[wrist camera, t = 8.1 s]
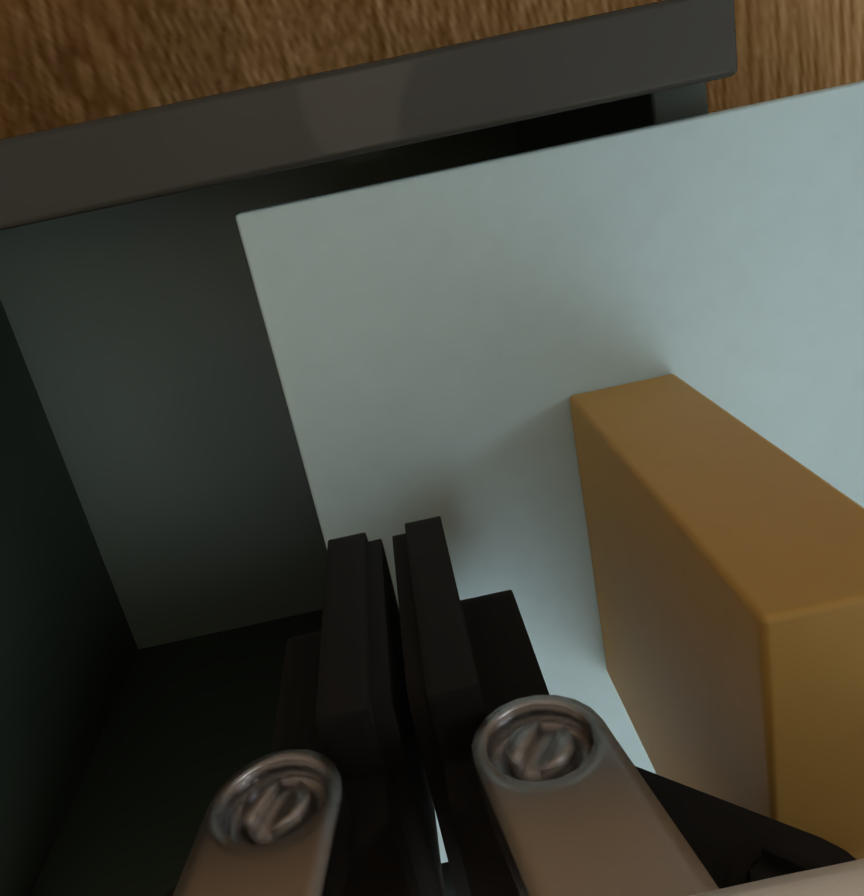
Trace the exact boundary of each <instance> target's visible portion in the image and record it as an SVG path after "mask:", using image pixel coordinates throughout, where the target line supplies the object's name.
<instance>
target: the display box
mask: <svg viewBox="0 0 864 896" xmlns="http://www.w3.org/2000/svg"><path fill="white" fill-rule="evenodd" d="M736 71H737V51H736V31H735V12H734V0H665V1H660V2H655V3H650V4H646V5H641V6H636V7H631V8H626V9H622V10H617V11H612V12H607V13H603V14H598V15H593V16H588V17H583V18H579V19H574V20H569V21H564V22H560V23H555V24H550V25H545V26H540V27H536V28H531V29H526V30H521V31H517V32H512V33H507V34H502V35H498V36H493V37H488V38H483V39H478V40H474V41H469V42H464V43H459V44H455V45H450V46H445V47H440V48H435V49H431V50H426V51H421V52H416V53H412V54H407V55H402V56H397V57H392V58H388V59H383V60H378V61H373V62H369V63H364V64H359V65H354V66H349V67H345V68H340V69H335V70H330V71H326V72H321V73H316V74H311V75H306V76H302V77H297V78H292V79H287V80H283V81H278V82H273V83H268V84H263V85H259V86H254V87H249V88H244V89H240V90H235V91H230V92H225V93H221V94H216V95H211V96H206V97H201V98H197V99H192V100H187V101H182V102H178V103H173V104H168V105H163V106H158V107H154V108H149V109H144V110H139V111H135V112H130V113H125V114H120V115H115V116H111V117H106V118H101V119H96V120H92V121H87V122H82V123H77V124H72V125H68V126H63V127H58V128H53V129H49V130H44V131H39V132H34V133H29V134H25V135H20V136H15V137H10V138H6V139H1V140H0V896H165V895H166V894H167V893H168V892H169V891H170V890H171V889H172V888H173V887H175V886H176V885H177V884H178V881H179V879H180V876H181V874H182V871H183V869H184V866H185V864H186V861H187V859H188V856H189V854H190V851H191V849H192V846H193V844H194V841H195V839H196V836H197V834H198V831H199V829H200V826H201V824H202V821H203V819H204V816H205V814H206V811H207V809H208V806H209V804H210V803H211V801H212V799H213V798H214V796H215V794H216V792H217V791H218V789H219V788H220V787H221V786H222V785H223V784H224V783H225V782H226V781H227V780H228V779H229V778H230V777H231V776H232V775H233V774H234V773H235V772H237V771H238V770H240V769H241V768H243V767H244V766H245V765H247V764H248V763H250V762H252V761H254V760H256V759H259V758H261V757H263V756H265V755H268V754H270V753H271V750H272V743H273V736H274V729H275V722H276V715H277V708H278V700H279V693H280V686H281V679H282V672H283V665H284V658H285V651H286V645H287V641H288V639H289V638H291V637H296V636H300V635H305V634H309V633H314V632H318V631H322V617H323V603H324V589H325V575H326V561H327V548H326V544H325V540H324V537H323V533H322V530H321V526H320V522H319V519H318V515H317V511H316V508H315V504H314V501H313V497H312V493H311V490H310V486H309V482H308V479H307V475H306V472H305V468H304V464H303V461H302V457H301V454H300V450H299V446H298V443H297V439H296V435H295V432H294V428H293V425H292V421H291V417H290V414H289V410H288V406H287V403H286V399H285V396H284V392H283V388H282V385H281V381H280V377H279V374H278V370H277V367H276V363H275V359H274V356H273V352H272V348H271V345H270V341H269V338H268V334H267V330H266V327H265V323H264V319H263V316H262V312H261V309H260V305H259V301H258V298H257V294H256V291H255V287H254V283H253V280H252V276H251V272H250V269H249V265H248V262H247V258H246V254H245V251H244V247H243V243H242V240H241V236H240V233H239V229H238V225H237V222H236V215H237V214H239V213H240V212H244V211H249V210H253V209H258V208H263V207H268V206H272V205H277V204H282V203H286V202H291V201H296V200H301V199H305V198H310V197H315V196H320V195H324V194H329V193H334V192H338V191H343V190H348V189H353V188H357V187H362V186H367V185H372V184H376V183H381V182H386V181H391V180H395V179H400V178H405V177H409V176H414V175H419V174H424V173H428V172H433V171H438V170H443V169H447V168H452V167H457V166H461V165H466V164H471V163H476V162H480V161H485V160H490V159H495V158H499V157H504V156H509V155H513V154H518V153H523V152H528V151H532V150H537V149H542V148H547V147H551V146H556V145H561V144H565V143H570V142H575V141H580V140H584V139H589V138H594V137H599V136H603V135H608V134H613V133H618V132H622V131H627V130H632V129H636V128H641V127H646V126H651V125H655V124H660V123H665V122H670V121H674V120H679V119H684V118H688V117H693V116H698V115H703V114H707V113H708V105H707V90H706V82H707V81H712V80H717V79H722V78H726V77H731V76H732V75H734V74H735V73H736ZM441 867H442V875H443V883H444V892H445V896H457V895H456V891H455V887H454V883H453V879H452V875H451V871H450V867H449V863H448V862H445V863H441Z"/></svg>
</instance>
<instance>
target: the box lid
mask: <svg viewBox="0 0 864 896" xmlns="http://www.w3.org/2000/svg"><path fill="white" fill-rule="evenodd" d="M236 222H237V225H238V229H239V233H240V236H241V240H242V243H243V247H244V251H245V254H246V258H247V262H248V265H249V269H250V272H251V276H252V280H253V283H254V287H255V291H256V294H257V298H258V301H259V305H260V309H261V312H262V316H263V319H264V323H265V327H266V330H267V334H268V338H269V341H270V345H271V348H272V352H273V356H274V359H275V363H276V367H277V370H278V374H279V377H280V381H281V385H282V388H283V392H284V396H285V399H286V403H287V406H288V410H289V414H290V417H291V421H292V425H293V428H294V432H295V435H296V439H297V443H298V446H299V450H300V454H301V457H302V461H303V464H304V468H305V472H306V475H307V479H308V482H309V486H310V490H311V493H312V497H313V501H314V504H315V508H316V511H317V515H318V519H319V522H320V526H321V530H322V533H323V537H324V540H325V544H326V548H327V547H328V540H331V539H336V538H341V537H345V536H350V535H354V534H359V533H364V532H365V533H366V535H367V538H368V541H373V540H377V539H381V540H382V542H383V546H384V550H385V554H386V558H387V562H388V566H389V570H390V574H391V578H392V582H393V586H394V591H395V595H396V599H397V603H398V593H397V582H396V572H395V561H394V551H393V540H392V536H396V535H400V534H405V533H406V532H405V523H410V522H414V521H419V520H423V519H428V518H433V517H437V516H440V517H441V521H442V525H443V530H444V534H445V538H446V542H447V547H448V551H449V555H450V560H451V564H452V568H453V573H454V577H455V581H456V585H457V590H458V594H459V598H460V600H465V599H469V598H474V597H478V596H483V595H488V594H492V593H497V592H501V591H506V590H510V589H511V590H512V592H513V594H514V597H515V599H516V602H517V605H518V608H519V611H520V613H521V616H522V619H523V622H524V625H525V627H526V630H527V633H528V636H529V639H530V641H531V644H532V647H533V650H534V653H535V655H536V658H537V661H538V664H539V667H540V669H541V672H542V675H543V678H544V681H545V683H546V686H547V689H548V692H549V695H559V696H564V697H568V698H573V699H576V700H578V701H580V702H582V703H584V704H585V705H587V706H589V707H591V708H592V709H593V710H594V711H595V712H596V713H597V714H598V715H599V716H600V717H601V718H602V719H603V721H604V722H605V723H606V725H607V726H608V728H609V729H610V731H611V732H612V734H613V735H614V737H615V738H616V739H617V741H618V742H619V744H620V745H621V747H622V748H623V750H624V751H625V753H626V754H627V755H628V757H629V758H630V760H631V761H632V763H633V764H634V766H637V767H639V768H642V769H644V770H647V771H650V772H652V773H655V774H657V775H660V776H663V777H665V778H668V779H670V780H673V781H675V782H678V783H681V784H683V785H686V786H688V787H691V788H694V789H696V790H699V791H701V792H704V793H707V794H709V795H712V796H714V797H717V798H720V799H722V800H725V801H727V802H730V803H733V804H735V805H738V806H740V807H743V808H746V809H748V810H751V811H753V812H756V813H758V814H761V815H764V816H766V817H769V818H771V819H774V820H777V821H779V822H782V823H784V824H787V825H790V826H792V827H795V828H797V829H800V830H803V831H805V832H808V833H810V834H813V835H816V836H818V837H821V838H823V839H825V840H827V841H828V842H830V843H832V844H834V845H836V846H838V847H840V848H842V849H844V850H846V851H847V852H848V853H849V854H851V855H852V856H853V857H854V858H855V859H857V860H859V859H863V858H864V80H863V81H859V82H854V83H849V84H845V85H840V86H835V87H830V88H826V89H821V90H816V91H811V92H807V93H802V94H797V95H792V96H788V97H783V98H778V99H774V100H769V101H764V102H759V103H755V104H750V105H745V106H740V107H736V108H731V109H726V110H722V111H717V112H712V113H707V114H703V115H698V116H693V117H688V118H684V119H679V120H674V121H670V122H665V123H660V124H655V125H651V126H646V127H641V128H636V129H632V130H627V131H622V132H618V133H613V134H608V135H603V136H599V137H594V138H589V139H584V140H580V141H575V142H570V143H565V144H561V145H556V146H551V147H547V148H542V149H537V150H532V151H528V152H523V153H518V154H513V155H509V156H504V157H499V158H495V159H490V160H485V161H480V162H476V163H471V164H466V165H461V166H457V167H452V168H447V169H443V170H438V171H433V172H428V173H424V174H419V175H414V176H409V177H405V178H400V179H395V180H391V181H386V182H381V183H376V184H372V185H367V186H362V187H357V188H353V189H348V190H343V191H338V192H334V193H329V194H324V195H320V196H315V197H310V198H305V199H301V200H296V201H291V202H286V203H282V204H277V205H272V206H268V207H263V208H258V209H253V210H249V211H244V212H240V213H239V214H237V215H236ZM398 607H399V604H398ZM435 817H436V825H437V833H438V842H439V850H440V858H441V863H445V862H448V859H447V855H446V851H445V847H444V843H443V839H442V835H441V831H440V827H439V823H438V819H437V816H436V812H435Z"/></svg>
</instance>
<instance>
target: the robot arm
mask: <svg viewBox="0 0 864 896" xmlns="http://www.w3.org/2000/svg"><path fill="white" fill-rule="evenodd" d="M405 532H406V533H405V534H400V535H396V536H392V540H393V551H394V561H395V572H396V582H397V593H398V603H397V599H396V595H395V591H394V586H393V582H392V578H391V574H390V570H389V566H388V562H387V558H386V554H385V550H384V546H383V542H382V540H381V539H377V540H373V541H368V538H367V535H366V533H365V532H364V533H359V534H354V535H350V536H345V537H341V538H336V539H331V540H328V547H327V561H326V575H325V589H324V603H323V617H322V631H318V632H314V633H309V634H305V635H300V636H296V637H291V638H289V639H288V641H287V645H286V651H285V658H284V665H283V672H282V679H281V686H280V693H279V700H278V708H277V715H276V722H275V729H274V736H273V743H272V750H271V753H270V754H268V755H265V756H263V757H261V758H259V759H256V760H254V761H252V762H250V763H248V764H247V765H245V766H244V767H243V768H241V769H240V770H238V771H237V772H235V773H234V774H233V775H232V776H231V777H230V778H229V779H228V780H227V781H226V782H225V783H224V784H223V785H222V786H221V787H220V788H219V789H218V791H217V792H216V794H215V796H214V798H213V799H212V801H211V803H210V804H209V806H208V809H207V811H206V814H205V816H204V819H203V821H202V824H201V826H200V829H199V831H198V834H197V836H196V839H195V841H194V844H193V846H192V849H191V851H190V854H189V856H188V859H187V861H186V864H185V866H184V869H183V871H182V874H181V876H180V879H179V881H178V884H177V885H176V886H175V887H173V888H172V889H171V890H170V891H169V892H168V893H167V894H166V895H165V896H445V892H444V883H443V875H442V867H441V858H440V850H439V842H438V833H437V825H436V817H435V812H436V816H437V819H438V823H439V827H440V831H441V835H442V839H443V843H444V847H445V851H446V855H447V859H448V863H449V867H450V871H451V875H452V879H453V883H454V887H455V891H456V895H457V896H864V858H863V859H859V860H857V859H855V858H854V857H853V856H852V855H851V854H849V853H848V852H847V851H846V850H844V849H842V848H840V847H838V846H836V845H834V844H832V843H830V842H828V841H827V840H825V839H823V838H821V837H818V836H816V835H813V834H810V833H808V832H805V831H803V830H800V829H797V828H795V827H792V826H790V825H787V824H784V823H782V822H779V821H777V820H774V819H771V818H769V817H766V816H764V815H761V814H758V813H756V812H753V811H751V810H748V809H746V808H743V807H740V806H738V805H735V804H733V803H730V802H727V801H725V800H722V799H720V798H717V797H714V796H712V795H709V794H707V793H704V792H701V791H699V790H696V789H694V788H691V787H688V786H686V785H683V784H681V783H678V782H675V781H673V780H670V779H668V778H665V777H663V776H660V775H657V774H655V773H652V772H650V771H647V770H644V769H642V768H639V767H637V766H634V764H633V763H632V761H631V760H630V758H629V757H628V755H627V754H626V753H625V751H624V750H623V748H622V747H621V745H620V744H619V742H618V741H617V739H616V738H615V737H614V735H613V734H612V732H611V731H610V729H609V728H608V726H607V725H606V723H605V722H604V721H603V719H602V718H601V717H600V716H599V715H598V714H597V713H596V712H595V711H594V710H593V709H592V708H591V707H589V706H587V705H585V704H584V703H582V702H580V701H578V700H576V699H573V698H568V697H564V696H559V695H549V692H548V689H547V686H546V683H545V681H544V678H543V675H542V672H541V669H540V667H539V664H538V661H537V658H536V655H535V653H534V650H533V647H532V644H531V641H530V639H529V636H528V633H527V630H526V627H525V625H524V622H523V619H522V616H521V613H520V611H519V608H518V605H517V602H516V599H515V597H514V594H513V592H512V590H511V589H510V590H506V591H501V592H497V593H492V594H488V595H483V596H478V597H474V598H469V599H465V600H460V598H459V594H458V590H457V585H456V581H455V577H454V573H453V568H452V564H451V560H450V555H449V551H448V547H447V542H446V538H445V534H444V530H443V525H442V521H441V517H440V516H437V517H433V518H428V519H423V520H419V521H414V522H410V523H405ZM398 604H399V607H398Z"/></svg>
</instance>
